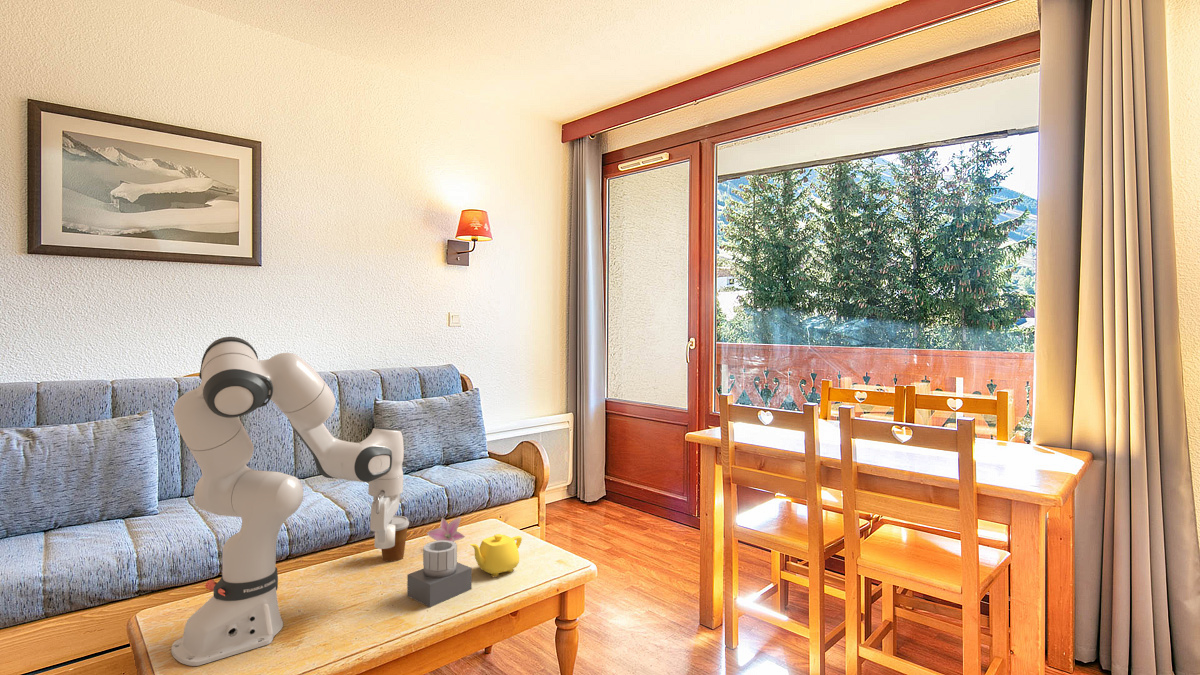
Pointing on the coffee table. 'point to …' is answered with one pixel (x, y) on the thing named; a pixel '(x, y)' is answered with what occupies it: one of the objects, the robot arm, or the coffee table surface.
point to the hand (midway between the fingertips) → (384, 537)
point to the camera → (439, 575)
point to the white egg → (389, 538)
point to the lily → (447, 531)
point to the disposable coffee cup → (397, 540)
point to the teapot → (498, 554)
